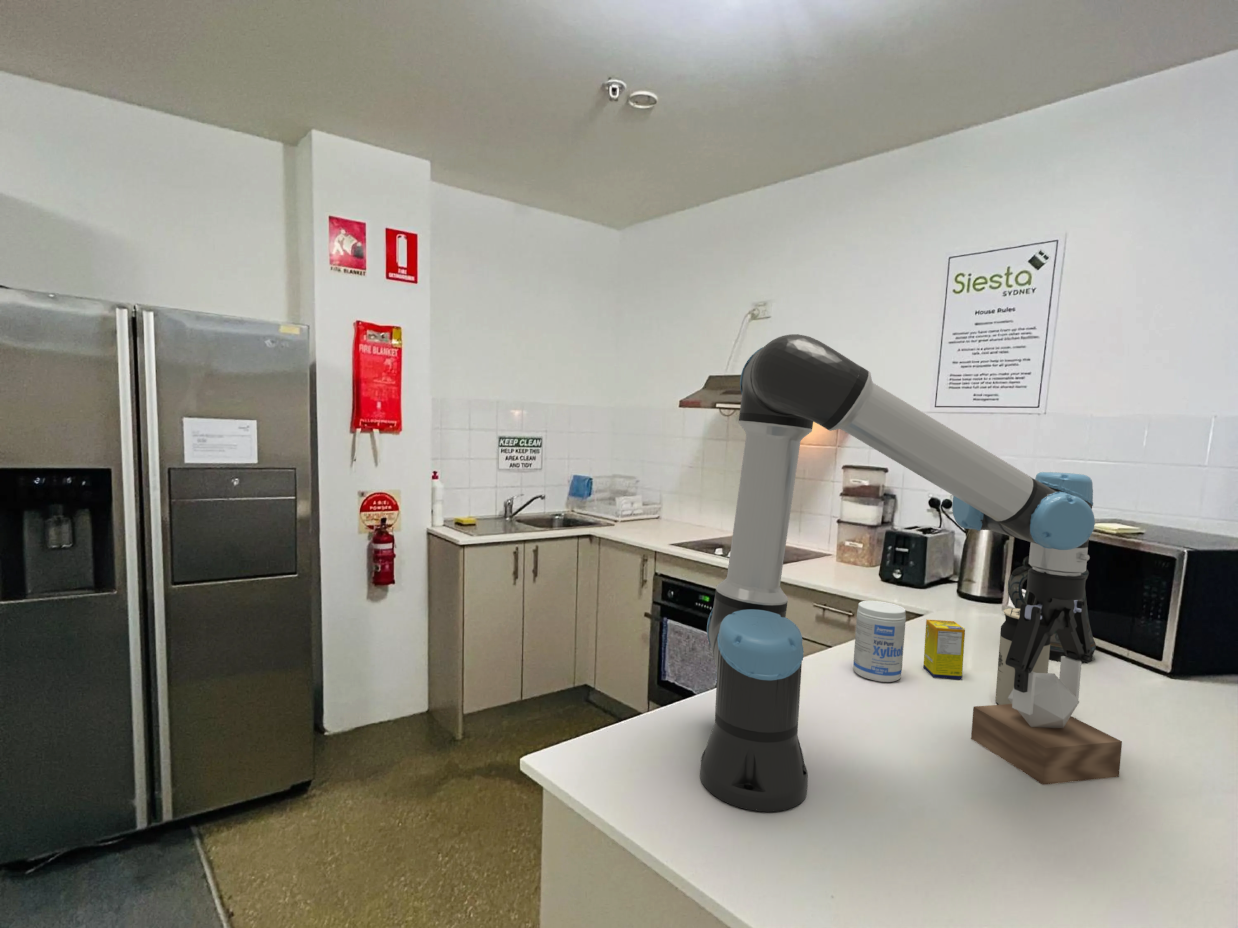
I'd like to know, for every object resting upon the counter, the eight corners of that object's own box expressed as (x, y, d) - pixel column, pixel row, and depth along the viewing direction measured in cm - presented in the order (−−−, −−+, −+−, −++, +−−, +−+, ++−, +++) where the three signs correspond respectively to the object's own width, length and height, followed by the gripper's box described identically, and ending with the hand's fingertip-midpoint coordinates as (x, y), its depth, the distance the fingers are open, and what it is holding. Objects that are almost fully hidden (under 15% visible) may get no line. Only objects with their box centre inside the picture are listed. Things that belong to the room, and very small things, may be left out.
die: (1075, 746, 96) (1098, 690, 98) (1022, 713, 97) (1046, 657, 100) (1039, 740, 104) (1061, 687, 106) (990, 708, 105) (1013, 657, 107)
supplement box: (950, 669, 139) (954, 620, 139) (962, 680, 134) (966, 628, 133) (922, 667, 140) (925, 618, 139) (932, 678, 134) (936, 626, 133)
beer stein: (1106, 656, 152) (1115, 552, 150) (1071, 671, 141) (1081, 559, 139) (1030, 636, 166) (1037, 540, 164) (993, 648, 155) (1001, 546, 153)
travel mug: (1048, 707, 121) (1055, 614, 120) (1039, 720, 116) (1047, 622, 115) (1000, 694, 127) (1007, 605, 126) (990, 706, 121) (997, 612, 120)
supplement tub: (876, 686, 129) (881, 614, 128) (842, 668, 137) (847, 601, 136) (912, 680, 132) (916, 610, 131) (877, 663, 141) (881, 598, 140)
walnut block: (1042, 787, 94) (1046, 747, 94) (970, 740, 108) (973, 706, 107) (1118, 779, 97) (1122, 741, 97) (1039, 735, 111) (1042, 701, 110)
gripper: (1036, 581, 92) (1024, 728, 93) (1124, 570, 103) (1112, 701, 104) (985, 570, 98) (975, 707, 100) (1073, 560, 109) (1063, 683, 111)
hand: (1045, 704), depth 102 cm, fingers open, 12 cm apart
